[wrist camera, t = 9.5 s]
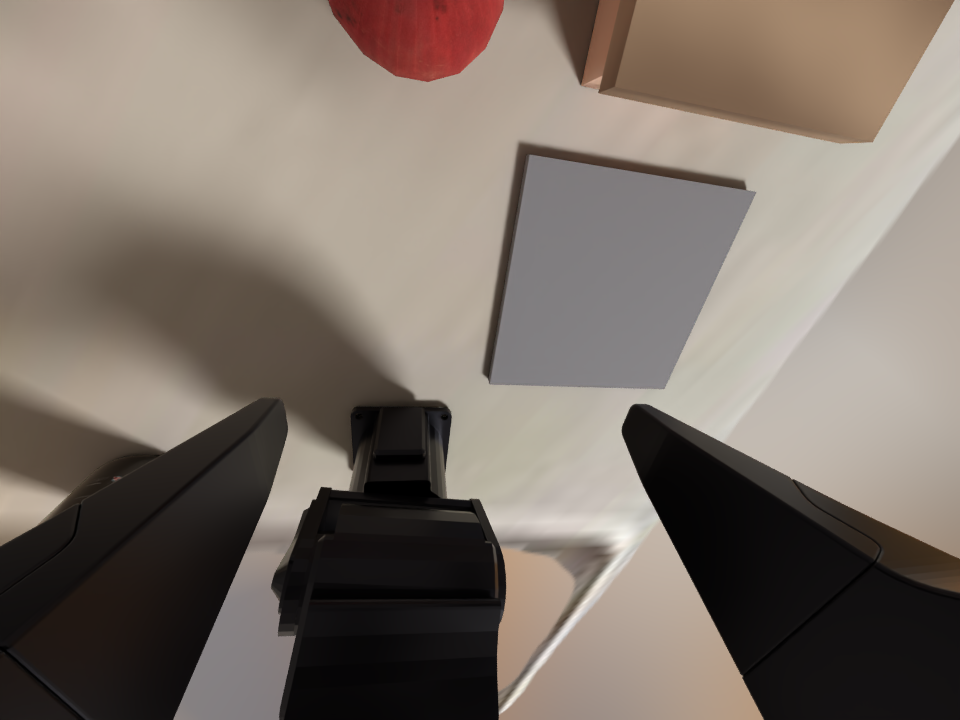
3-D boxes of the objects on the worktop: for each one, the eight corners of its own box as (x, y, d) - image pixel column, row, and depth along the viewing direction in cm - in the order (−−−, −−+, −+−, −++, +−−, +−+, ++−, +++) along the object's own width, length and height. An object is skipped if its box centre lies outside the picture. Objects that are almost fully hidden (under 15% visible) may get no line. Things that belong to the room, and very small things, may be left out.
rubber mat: (659, 384, 25) (664, 389, 25) (488, 379, 23) (489, 384, 22) (747, 191, 19) (756, 191, 19) (526, 154, 17) (529, 154, 16)
